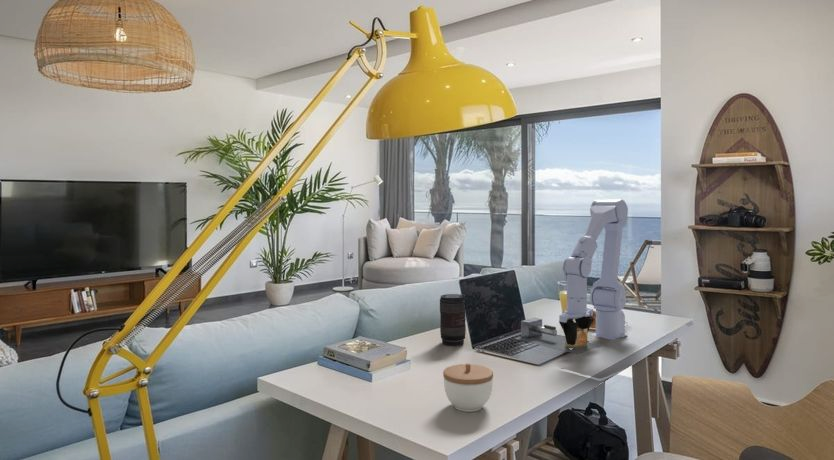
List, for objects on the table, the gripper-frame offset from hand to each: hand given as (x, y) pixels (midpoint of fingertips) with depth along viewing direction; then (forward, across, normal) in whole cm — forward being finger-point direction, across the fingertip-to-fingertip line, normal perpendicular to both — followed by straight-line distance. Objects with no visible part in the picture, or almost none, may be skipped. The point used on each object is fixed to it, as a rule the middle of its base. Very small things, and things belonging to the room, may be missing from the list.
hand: (576, 342), depth 161 cm
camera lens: (+2, -23, +29) cm, 37 cm away
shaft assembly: (+1, 0, +13) cm, 13 cm away
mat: (+2, 0, +7) cm, 7 cm away
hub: (+1, 0, 0) cm, 1 cm away
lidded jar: (+2, -56, -10) cm, 57 cm away
